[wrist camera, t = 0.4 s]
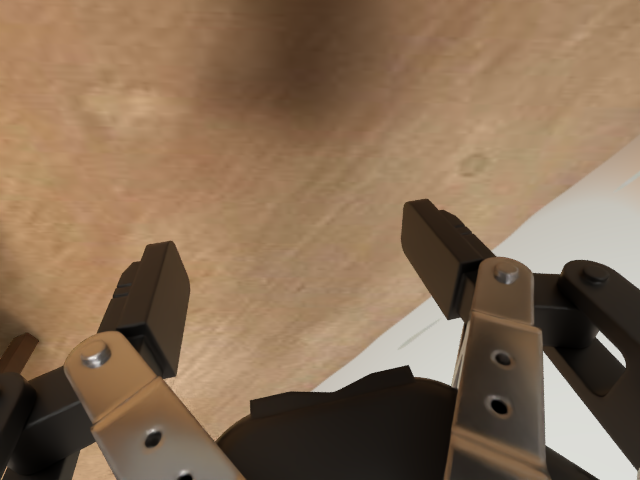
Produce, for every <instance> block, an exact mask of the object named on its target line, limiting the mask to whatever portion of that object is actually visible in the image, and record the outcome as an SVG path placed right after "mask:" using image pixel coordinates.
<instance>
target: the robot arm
mask: <svg viewBox="0 0 640 480" xmlns="http://www.w3.org/2000/svg"><path fill="white" fill-rule="evenodd" d="M401 244H402V248H403V251H404V254H405V255H406V257H407V258H408V260H409V261H410V263H411V264H412V266H413V268H414V269H415V271H416V272H417V274H418V275H419V277H420V278H421V280H422V281H423V283H424V284H425V286H426V288H427V289H428V291H429V292H430V294H431V295H432V297H433V298H434V300H435V301H436V303H437V304H438V306H439V308H440V309H441V311H442V312H443V314H444V315H445V317H446V318H447V320H451V319H455V318H460V317H461V318H462V320H463V321H464V326H463V329H462V335H461V340H460V345H459V350H458V355H457V360H456V365H455V370H454V375H453V380H452V384H451V386H449V385H447V384H445V383H442V382H439V381H435V380H432V379H427V378H421V377H414V376H413V374H412V372H411V369H410V367H409V365H407V366H402V367H398V368H393V369H389V370H384V371H380V372H375V373H371V374H369V375H367V376H365V377H363V378H361V379H359V380H357V381H356V382H354V383H352V384H350V385H348V386H346V387H344V388H342V389H340V390H338V391H335V392H330V393H329V392H292V391H290V392H286V393H281V394H277V395H273V396H268V397H264V398H259V399H255V400H250V414H249V415H247V416H246V417H244V418H242V419H241V420H239V421H238V422H236V423H235V424H233V425H232V426H231V427H230V428H229V429H227V430H226V431H225V432H224V433H223V434H222V435H221V436H220V437H219V438H218V439H217V440H216V441H214V440H213V439H212V438H211V437H210V435H209V434H208V433H207V432H206V431H205V429H204V428H203V427H202V426H201V425H200V423H199V422H198V421H197V420H196V419H195V417H194V416H193V415H192V414H191V413H190V411H189V410H188V409H187V408H186V406H185V405H184V404H183V403H182V402H181V400H180V399H179V398H178V397H177V396H176V394H175V393H174V392H173V391H172V390H171V388H170V387H169V386H168V385H167V384H166V382H165V381H164V380H163V379H166V378H171V377H175V376H176V374H177V368H178V362H179V356H180V350H181V344H182V338H183V332H184V326H185V320H186V314H187V308H188V302H189V296H190V283H189V278H188V275H187V273H186V270H185V268H184V265H183V263H182V260H181V258H180V255H179V253H178V251H177V248H176V246H175V244H174V242H173V241H167V242H161V243H155V244H149V245H147V246H146V248H145V251H144V253H143V256H142V259H141V261H139V262H133V263H132V264H131V265H130V266H129V267H128V268H127V269H126V270H125V271H124V272H123V273H122V275H121V277H120V280H119V282H118V284H117V288H116V289H115V292H114V294H113V299H111V301H110V303H109V306H108V308H107V310H106V313H105V315H104V317H103V320H102V322H101V324H100V327H99V329H98V331H97V334H95V335H93V336H91V337H89V338H87V339H85V340H84V341H82V342H81V343H80V344H78V345H77V346H76V347H75V348H74V349H73V350H72V351H71V353H70V354H69V355H68V357H67V358H66V361H65V363H64V366H62V367H59V368H57V369H55V370H53V371H50V372H48V373H46V374H43V375H41V376H39V377H36V378H34V379H32V380H30V381H27V380H25V379H24V378H23V377H22V376H21V375H20V374H19V373H16V372H5V373H0V480H1V478H2V475H3V473H4V471H5V469H6V466H7V470H6V472H5V474H4V476H3V479H2V480H72V477H73V473H74V470H75V467H76V463H77V460H78V456H79V453H80V450H81V449H83V448H85V447H87V446H89V445H91V444H93V443H94V442H97V444H98V446H99V448H100V450H101V451H102V453H103V455H104V457H105V459H106V461H107V463H108V464H109V466H110V468H111V470H112V472H113V474H114V476H115V477H116V479H117V480H599V479H597V478H596V477H594V476H593V475H591V474H590V473H588V472H587V471H585V470H583V469H582V468H580V467H579V466H577V465H576V464H574V463H572V462H571V461H569V460H568V459H566V458H565V457H563V456H562V455H560V454H558V453H557V452H555V451H554V450H552V449H551V448H549V447H547V446H546V445H545V415H544V381H543V379H544V377H543V351H544V353H545V354H546V355H547V356H548V358H549V359H550V360H551V361H552V363H553V364H554V365H555V367H556V368H557V369H558V370H559V372H560V373H561V374H562V376H563V377H564V378H565V379H566V380H567V382H568V383H569V384H570V386H571V387H572V388H573V390H574V391H575V392H576V393H577V395H578V396H579V397H580V398H581V400H582V401H583V402H584V404H585V405H586V406H587V407H588V409H589V410H590V411H591V412H592V414H593V415H594V416H595V417H596V419H597V420H598V421H599V423H600V424H601V425H602V426H603V428H604V429H605V430H606V432H607V433H608V434H609V435H610V437H611V438H612V439H613V441H614V442H615V443H616V444H617V446H618V447H619V448H620V449H621V450H622V452H623V453H624V455H625V456H626V457H627V458H628V460H629V461H630V462H631V463H632V465H633V466H634V467H635V468H636V470H637V471H638V474H637V480H640V290H639V289H638V288H637V287H635V286H634V285H633V284H632V283H630V282H629V281H628V280H626V279H625V278H624V277H623V276H621V275H620V274H619V273H617V272H616V271H615V270H613V269H611V268H610V267H607V266H605V265H603V264H600V263H597V262H593V261H588V260H574V261H570V262H568V263H567V264H565V266H564V268H563V270H562V272H561V274H540V273H532V272H531V270H530V269H529V268H528V267H527V266H525V265H524V264H522V263H520V262H518V261H516V260H513V259H510V258H506V257H496V256H495V255H494V254H493V253H492V252H491V251H490V250H489V249H488V248H487V247H486V246H485V245H484V244H483V243H482V242H481V241H480V240H479V239H478V238H477V237H476V236H475V235H474V234H472V232H471V231H470V230H469V229H468V228H467V227H465V225H464V224H463V223H462V222H461V221H460V220H459V219H458V218H457V217H456V216H455V215H453V214H451V213H449V212H447V211H445V210H438V209H437V208H436V207H435V206H434V205H433V204H432V203H431V202H430V201H429V200H428V199H421V200H415V201H409V202H406V203H405V204H404V208H403V220H402V232H401ZM599 330H600V331H601V332H602V333H603V334H604V335H605V336H606V337H607V338H608V339H609V340H610V341H611V342H612V343H613V344H614V345H615V346H616V347H617V348H618V349H619V351H620V352H621V353H622V355H623V357H624V358H625V362H626V368H625V367H624V366H623V365H622V364H621V363H620V362H619V361H618V360H617V359H616V358H615V357H614V356H613V355H612V354H611V353H610V352H609V351H608V350H607V349H606V348H605V346H604V345H603V344H602V343H601V342H600V341H599V340H598V339H597V338H596V335H597V333H598V332H599Z"/></svg>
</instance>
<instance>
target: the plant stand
mask: <svg viewBox="0 0 640 480" xmlns="http://www.w3.org/2000/svg"><path fill="white" fill-rule="evenodd" d="M38 342H39V340H37V339H36V338H34V337H33V336H31V335H30V334H29V333H25V334H23V335H20V336H18V337H15V338H14V339H13V340H12V342H11V343H10V345H9V346H8V348H7V350H6V351H5V353H4V354H3V356H2V357H1V359H0V373H5V372H16V373H19V374H20V373H21V372H22V370H23V368H24V366H25V365H26V363H27V361H28V359H29V358H30V356H31V354H32V352H33V351H34V349H35V347H36V345H37V344H38Z"/></svg>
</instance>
